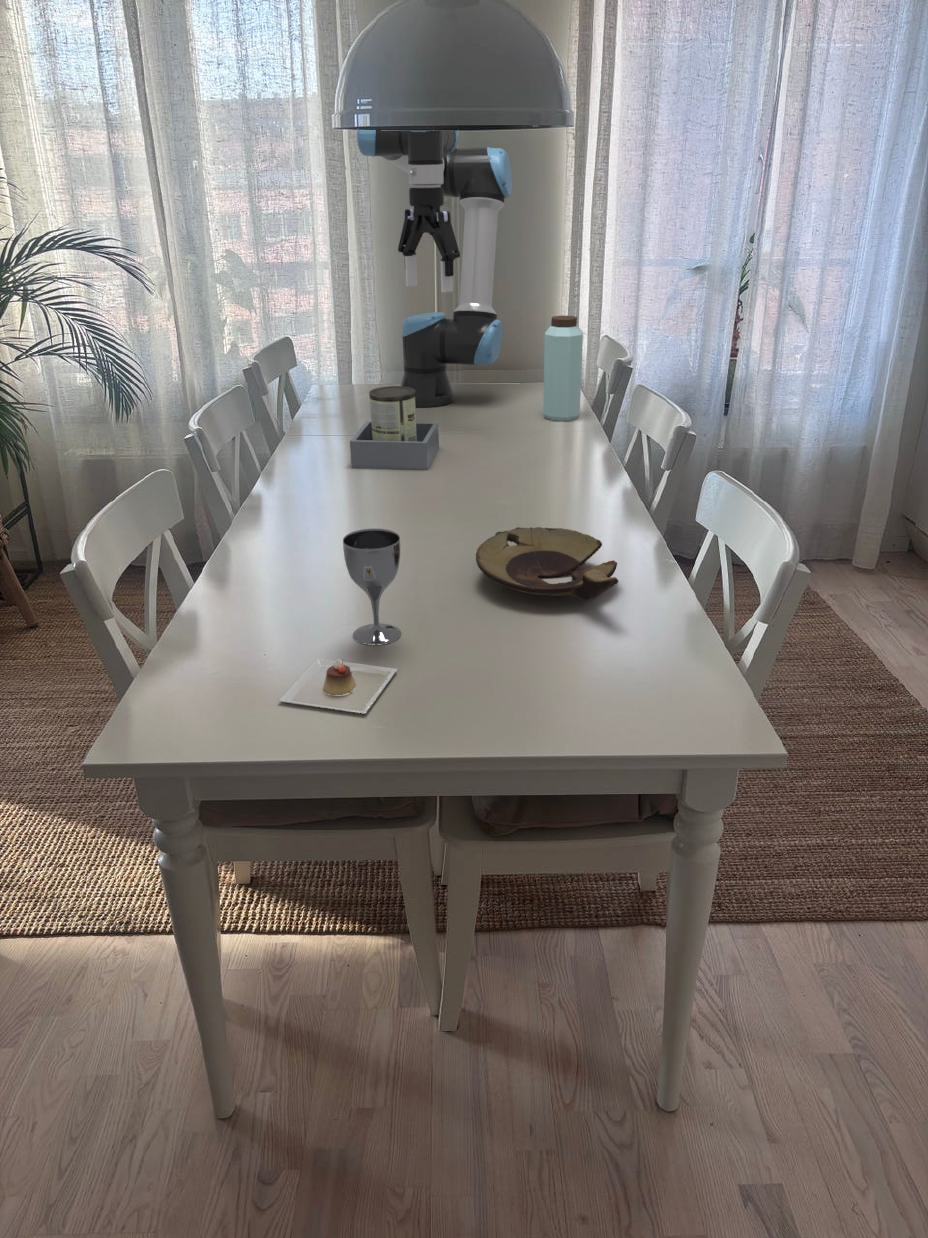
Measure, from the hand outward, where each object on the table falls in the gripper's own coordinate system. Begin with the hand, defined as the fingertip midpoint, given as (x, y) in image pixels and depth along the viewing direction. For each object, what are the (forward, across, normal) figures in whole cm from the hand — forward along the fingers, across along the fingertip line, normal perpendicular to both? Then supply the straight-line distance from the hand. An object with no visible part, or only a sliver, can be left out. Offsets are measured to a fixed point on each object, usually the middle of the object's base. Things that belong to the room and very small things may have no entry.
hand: (429, 288), depth 221 cm
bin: (+35, +7, -16) cm, 39 cm away
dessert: (+36, +89, -80) cm, 125 cm away
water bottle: (+35, +5, +38) cm, 51 cm away
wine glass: (+35, +79, -68) cm, 110 cm away
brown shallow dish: (+35, +83, -38) cm, 97 cm away
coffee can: (+34, +7, -16) cm, 38 cm away
